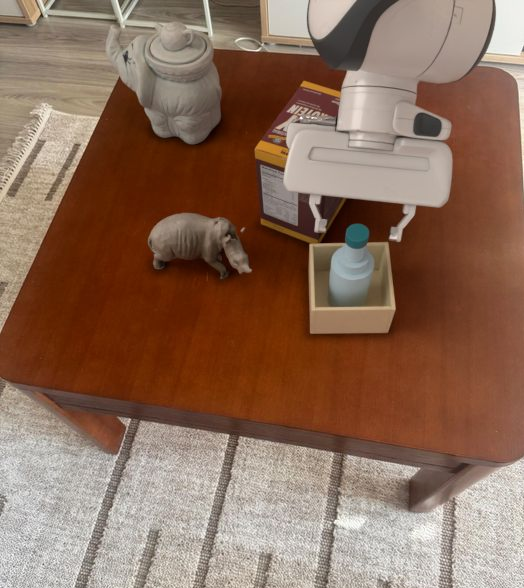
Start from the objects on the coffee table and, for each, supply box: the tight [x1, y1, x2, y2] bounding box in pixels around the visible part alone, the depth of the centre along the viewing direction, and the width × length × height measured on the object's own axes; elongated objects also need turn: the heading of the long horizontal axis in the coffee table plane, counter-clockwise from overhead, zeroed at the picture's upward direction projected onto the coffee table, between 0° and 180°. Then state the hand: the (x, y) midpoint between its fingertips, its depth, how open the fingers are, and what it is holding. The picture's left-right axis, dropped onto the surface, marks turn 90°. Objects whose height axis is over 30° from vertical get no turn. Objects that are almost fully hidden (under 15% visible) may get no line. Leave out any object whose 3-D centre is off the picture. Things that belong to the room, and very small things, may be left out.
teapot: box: [105, 21, 223, 145], centre depth 88 cm, size 16×15×19 cm
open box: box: [308, 241, 397, 335], centre depth 74 cm, size 11×11×6 cm
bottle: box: [328, 223, 374, 307], centre depth 70 cm, size 6×6×15 cm
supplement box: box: [254, 80, 348, 244], centre depth 79 cm, size 10×15×16 cm
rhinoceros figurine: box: [147, 212, 253, 280], centre depth 78 cm, size 8×14×15 cm
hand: (356, 236), depth 67 cm, fingers open, 8 cm apart
